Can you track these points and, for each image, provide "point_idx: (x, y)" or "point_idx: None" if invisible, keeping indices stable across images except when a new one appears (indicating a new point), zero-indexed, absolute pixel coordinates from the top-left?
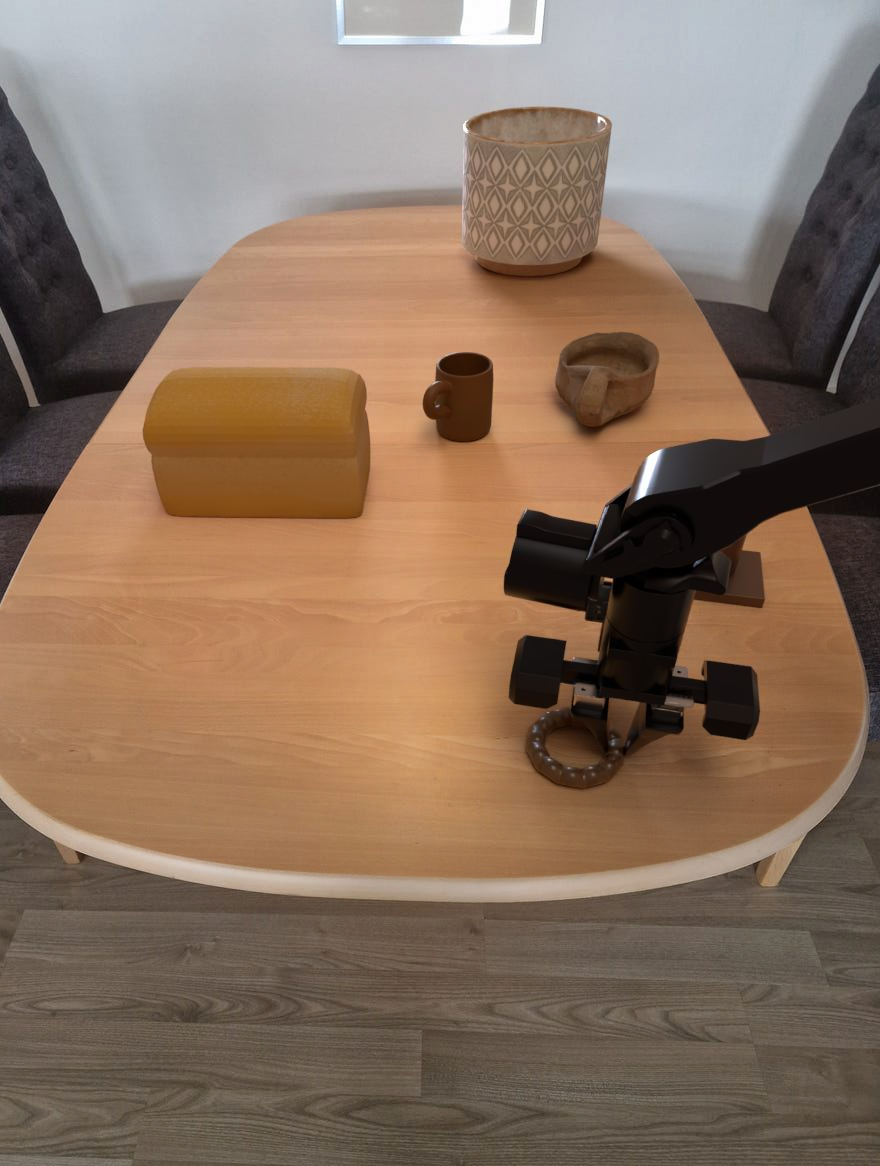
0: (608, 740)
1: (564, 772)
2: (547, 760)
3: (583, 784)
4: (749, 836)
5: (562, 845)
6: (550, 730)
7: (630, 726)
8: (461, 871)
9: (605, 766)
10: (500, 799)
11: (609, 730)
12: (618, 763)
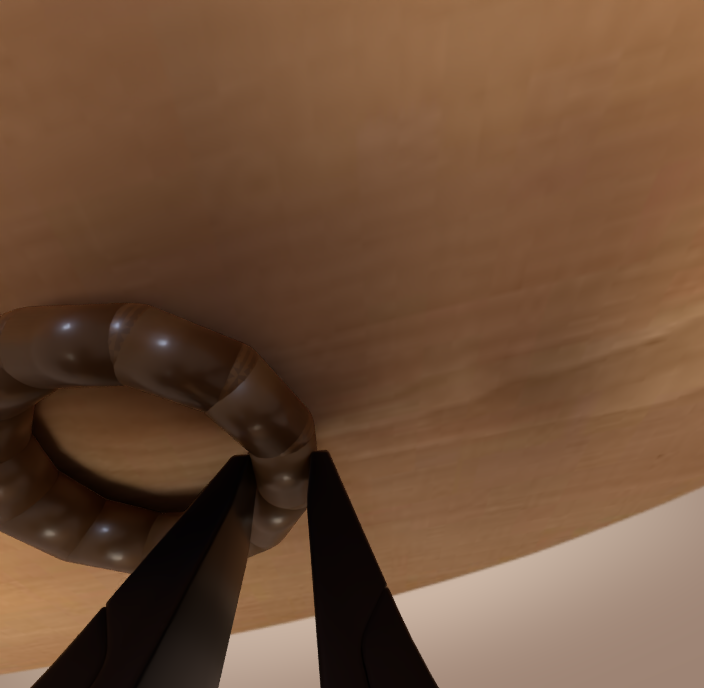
0: (227, 643)
1: None
2: (83, 562)
3: None
4: (605, 524)
5: None
6: (20, 438)
7: (310, 545)
8: None
9: (262, 543)
10: (59, 571)
11: (217, 601)
12: (301, 514)
